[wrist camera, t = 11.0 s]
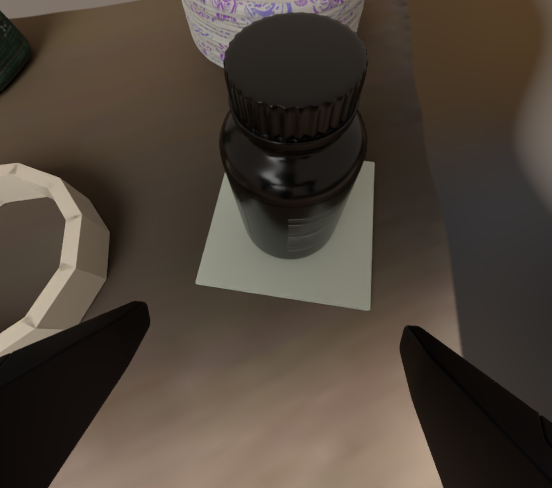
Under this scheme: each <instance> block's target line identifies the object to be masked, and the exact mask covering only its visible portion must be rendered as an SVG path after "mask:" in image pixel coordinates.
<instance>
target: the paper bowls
mask: <svg viewBox="0 0 552 488" xmlns="http://www.w3.org/2000/svg"><path fill="white" fill-rule="evenodd" d="M182 3H183V8H184V10H185V15H186V18H187V21H188V24H189V28H190V31H191V34H192V37H193V39H194V42H195V44H196V46H197V47H198V48H199V50H200V51H201V52H202V53H203V54H204V55H205V56H206V57H207V58H208V59H209V60H210V61H212V62H213V63H215V64H217V65H219V66H221V67H222V68H224V65H223V60H224V58H225V51H226V49H227V48H228V47H229V42H230V41H232V40H233V39H234V37H235V34H237V33H239V32H241V31H242V29H243V28H244V27H246V26H248V25H250V24H251V23H252V22H254V21H257V20H261V19H262V18H264V17H268V16H273V15H275V14H284V13H288V12H294V13H297V12H306V13H316V14H319V15H324V16H328V17H330V18H332V19H335V20H339V21H340V22H341V23H342V24H344V25H347V26H349V28H350V29H351V30H352V31H354V32H356V33H357V28H358V25H359V21H360V16H361V13H362V10H363V5H364V0H182Z"/></svg>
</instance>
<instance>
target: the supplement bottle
mask: <svg viewBox="0 0 552 488" xmlns="http://www.w3.org/2000/svg"><path fill="white" fill-rule="evenodd" d="M366 55H367V49H366V48H365V47H364V46H363V41H362V40H361V39H360V38H359V37H358V35H357V33H356V32H354V31H352V30H351V29H350V28H349V26H347V25H344V24H342V23H341V22H340V21H339V20H335V19H332V18H330V17H328V16H324V15H319V14H316V13H306V12H297V13H294V12H288V13H284V14H275V15H273V16H268V17H264V18H262V19H261V20H257V21H254V22H252V23H251V24H250V25H248V26H246V27H244V28H243V29H242V31H241V32H239V33H237V34H235V37H234V39H233V40H232V41H230V42H229V47H228V48H227V49H226V51H225V58H224V60H223V65H224V71H225V80H226V84H227V89H228V93H229V97H228V99H229V107H230V110H229V112H228V113H227V115H226V117H225V119H224V122H223V125H222V128H221V132H220V139H219V149H220V155H221V159H222V163H223V166H224V169H225V172H226V175H227V178H228V181H229V184H230V187H231V189H232V192H233V195H234V198H235V201H236V204H237V207H238V209H239V212H240V215H241V218H242V221H243V224H244V226H245V229H246V231H247V234H248V235H249V237H250V239H251V240H252V242H253V243H254V244H255V245H256V246H257V247H258V248H259V249H260V250H262V251H263V252H265V253H266V254H268V255H270V256H273V257H276V258H280V259H288V260H293V259H300V258H304V257H308V256H310V255H312V254H314V253H316V252H317V251H319V250H320V249H321V248H323V247H324V246H325V245H326V243H327V242H328V241H329V240H330V238H331V236H332V234H333V232H334V230H335V228H336V226H337V224H338V221H339V219H340V217H341V214H342V212H343V210H344V207H345V205H346V203H347V200H348V198H349V196H350V194H351V191H352V189H353V187H354V184H355V182H356V180H357V177H358V175H359V172H360V170H361V168H362V165H363V162H364V159H365V155H366V151H367V134H366V128H365V125H364V121H363V119H362V117H361V114H360V113H359V111H358V106H359V102H360V94H361V90H362V87H363V83H364V80H365V76H366V69H367V65H368V58H367V56H366Z"/></svg>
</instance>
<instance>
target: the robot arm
mask: <svg viewBox="0 0 552 488" xmlns="http://www.w3.org/2000/svg"><path fill="white" fill-rule="evenodd" d="M149 326H150V316H149V311H148V306H147V304H146V303H145V302H141V301H133V302H130V303H128V304H126V305H123V306H121V307H118V308H116V309H114V310H111V311H109V312H106V313H104V314H102V315H99V316H97V317H94V318H92V319H90V320H87V321H85V322H82V323H80V324H78V325H75V326H73V327H71V328H68V329H66V330H63V331H61V332H59V333H56V334H54V335H51V336H49V337H47V338H44V339H42V340H39V341H37V342H35V343H32V344H30V345H27V346H25V347H23V348H20V349H18V350H15V351H13V352H12V353H8V354H6V355H3V356H1V357H0V488H48V487H49V485H50V484H51V482H52V481H53V479H54V478H55V476H56V475H57V473H58V472H59V470H60V469H61V467H62V466H63V464H64V463H65V461H66V460H67V458H68V457H69V455H70V454H71V452H72V451H73V449H74V448H75V446H76V445H77V443H78V442H79V440H80V438H81V437H82V435H83V434H84V432H85V431H86V429H87V428H88V426H89V425H90V423H91V422H92V420H93V419H94V417H95V416H96V414H97V413H98V411H99V410H100V408H101V407H102V405H103V404H104V402H105V401H106V399H107V398H108V396H109V395H110V393H111V392H112V390H113V389H114V387H115V385H116V384H117V382H118V381H119V379H120V378H121V376H122V375H123V373H124V372H125V370H126V369H127V367H128V365H129V364H130V362H131V360H132V358H133V356H134V355H135V353H136V351H137V349H138V347H139V345H140V343H141V341H142V340H143V338H144V336H145V334H146V332H147V330H148V328H149ZM400 354H401V358H402V362H403V366H404V370H405V375H406V379H407V383H408V387H409V391H410V395H411V398H412V401H413V404H414V407H415V410H416V413H417V416H418V418H419V421H420V424H421V427H422V429H423V432H424V435H425V438H426V440H427V443H428V446H429V449H430V452H431V454H432V457H433V460H434V463H435V465H436V468H437V471H438V474H439V477H440V479H441V482H442V485H443V488H552V422H551V421H549V420H548V419H547V418H545V417H544V416H542V415H541V416H540V415H539V413H538V412H537V411H535V410H534V409H532V408H531V407H530V406H528V405H527V404H526V403H524V402H523V401H522V400H520V399H519V398H517V397H516V396H515V395H513V394H512V393H511V392H509V391H508V390H506V389H505V388H503V387H502V386H501V385H499V384H498V383H497V382H495V381H494V380H492V379H491V378H490V377H488V376H487V375H486V374H484V373H483V372H482V371H480V370H479V369H477V368H476V367H475V366H473V365H472V364H470V363H469V362H468V361H466V360H465V359H464V358H462V357H461V356H459V355H458V354H457V353H455V352H454V351H453V350H451V349H450V348H448V347H447V346H446V345H444V344H443V343H442V342H440V341H439V340H437V339H436V338H435V337H433V336H432V335H431V334H429V333H428V332H426V331H425V330H424V329H422V328H421V327H419V326H410V325H407V326H405V328H404V330H403V334H402V338H401V342H400Z"/></svg>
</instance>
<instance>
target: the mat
mask: <svg viewBox="0 0 552 488" xmlns="http://www.w3.org/2000/svg"><path fill="white" fill-rule="evenodd" d="M374 164H375V162H369V161H364V162H363V165H362V168H361V170H360V172H359V175H358V177H357V180H356V182H355V184H354V187H353V189H352V191H351V194H350V196H349V198H348V200H347V203H346V205H345V207H344V210H343V212H342V214H341V217H340V219H339V221H338V224H337V226H336V228H335V230H334V232H333V234H332V236H331V238H330V240H329V241H328V242H327V243H326V245H325V246H324V247H323V248H321V249H320V250H319V251H317V252H316V253H314V254H312V255H310V256H308V257H304V258H300V259H293V260H288V259H280V258H276V257H273V256H270V255H268V254H266V253H265V252H263V251H262V250H260V249H259V248H258V247H257V246H256V245H255V244H254V243H253V242H252V240H251V239H250V237H249V235H248V234H247V231H246V229H245V226H244V224H243V221H242V218H241V215H240V212H239V209H238V207H237V204H236V201H235V198H234V195H233V192H232V189H231V187H230V184H229V181H228V178H227V175H226V172H225V175H224V178H223V182H222V186H221V189H220V193H219V197H218V201H217V204H216V208H215V212H214V215H213V219H212V223H211V227H210V230H209V234H208V238H207V242H206V245H205V249H204V253H203V256H202V260H201V264H200V268H199V271H198V275H197V279H196V282H195V283H196V284H198V285H204V286H211V287H217V288H223V289H230V290H236V291H243V292H249V293H256V294H262V295H268V296H275V297H281V298H288V299H294V300H301V301H307V302H313V303H320V304H326V305H333V306H339V307H346V308H352V309H358V310H365V311H369V310H370V299H371V266H372V232H373V198H374Z"/></svg>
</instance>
